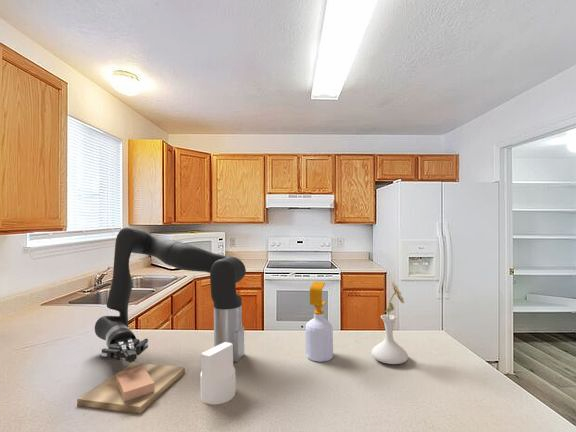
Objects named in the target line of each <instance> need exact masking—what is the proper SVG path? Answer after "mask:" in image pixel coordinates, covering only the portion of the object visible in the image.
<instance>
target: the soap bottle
mask: <svg viewBox="0 0 576 432" xmlns="http://www.w3.org/2000/svg"><path fill="white" fill-rule="evenodd" d="M325 285H326V282H324V281H313V282H312V284H311V285H310V287H309V305H311V306H314V308H316V309H315V310H313V318H312V319H310V320H308V322H307V323H306V325H305V356H306V357H307V359H308V360H310V361H313V362H318V363H319V362H321V363H324V362H327V361H328V362H329V361H330V360H332V359H333V357H334V339H333V338H334V334H333V332H334V329H333V325H332V323H331V322H330V321H329V320H328V319H326V318H325V316H324V315H325V314H324V313H325V312H324V310H322V308H323V306H325V305H326V303H327V302H326V301H323V288H324V287H325Z"/></svg>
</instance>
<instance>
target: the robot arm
mask: <svg viewBox="0 0 576 432" xmlns="http://www.w3.org/2000/svg"><path fill="white" fill-rule="evenodd" d="M132 254H140V255H145V256H150V257H154V258H157V259H158V260H160V261H161V262H162V263H163V264H165V265H167V266H170V267H172V268H175V269H178V270H182V271H183V270H184V271H188V272H189V271H190V272H201V273H208V274H209V281H210V284H209V285H210V295H211V296H210V297H211V300H212V302H213V341H214V342H213V346H214V347H215V346H218V345H220V344H222V343H224V342H228V343H232V344H233V363H234V362H235V363H239V361H240V360H241V359H242V358H243V357H244V355H245V327H244V326H243V317H242V316H243V315H242V314H243V310H242V306H243V305H242V304H243V301H242V299H243V298H242V297H241V295H239V294H238V293H237V289H236V284H237V283H239V282H240V281H241V280H243V279H244V278H245V275H246V273H247V270H246V265H245V264H244V263H243V261H242V260H241V259H240V258H237V257H235V256H231V255H230V256H229V255H224V254H220V253H214V252H211V251H208V250H205V249H202V248H200V247H197V246H193V245H191V244H188V243H184V242H182V241H178V240H175V239H174V240H172V239H165V238H161V237H158V236H157V235H153V234H151V233H150V232H147V231H146V230H142V229H138V228H135V227H131V226H125V227H123V228H122V229H120V231H118V233H117V234H116V238H115V244H114V257H113V258H114V259H113V271H112V278H111V283H110V289H109V293H108V297H107V300H106V307H107V309H110V310H113V311H116V312H119V316H118V315H103V316H100V317H99V318H98V319H97V321H96V322H95V324H94V333H95V335H96V336H97V337H98V338H99V339H101V340H103V341H105V344H106V347H108V348H106V347H105V348H102V349H101V359H102V360H112V361H119V360H121V359H123V360H124V362H128V363H129V364H131V363H135V360H137V358H138V356H139V355H141V354H142V353H143V352H145V350H147V349H148V348H149V339H148V338H144V339H143V340H140V339H138V338H137V337H136V335H135V333H134V332H133V330H132V329H130V328H129V325H130V324H129V313H128V312H129V302H130V298H131V294H132V290H133V289H132V288H133V280H132V276H131V271H130V258H131V255H132Z"/></svg>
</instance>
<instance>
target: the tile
mask: <svg viewBox="0 0 576 432" xmlns="http://www.w3.org/2000/svg"><path fill="white" fill-rule="evenodd" d="M115 374H116V384H117V386H118V388H119V391H120V393H121V395H122V398H123V400H124V402H127V401H130V400H133V399H136V398H139V397H142V396H145V395H148V394H151V393H154V381H153V380H152V378H151V377H150V375H149V374H148V372H147V371H146V369H145V368H144V366H141V367H137V368H134V369H130V370H127V371H123V372H120V373H118V372H116V373H115Z"/></svg>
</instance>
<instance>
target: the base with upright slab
mask: <svg viewBox="0 0 576 432" xmlns="http://www.w3.org/2000/svg"><path fill="white" fill-rule="evenodd" d="M199 374H200V376H199V377H200V400H201V402H202V403H204V404H207V405H220V404H224V403H227V402H229V401H230V400H232V399H233V398H234V397H235V395H236V393H237V392H236V367H235V366H234V362H233V344H232V343H228V342H224V343H222V344H220V345H218V346H215V347H211V348H210V349H208V350H206V351H203V352H201V371H200V373H199Z"/></svg>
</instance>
